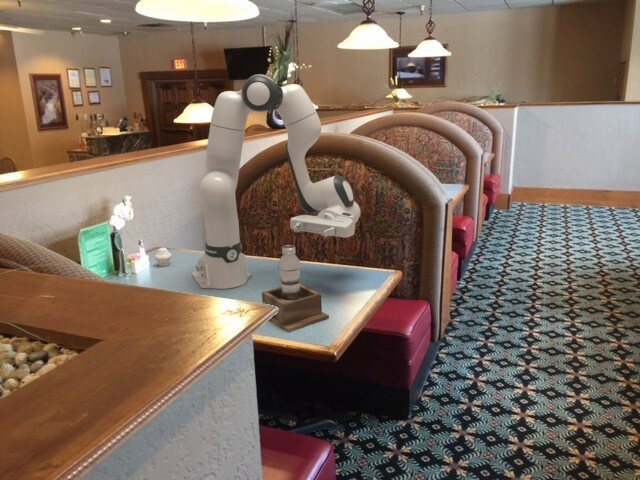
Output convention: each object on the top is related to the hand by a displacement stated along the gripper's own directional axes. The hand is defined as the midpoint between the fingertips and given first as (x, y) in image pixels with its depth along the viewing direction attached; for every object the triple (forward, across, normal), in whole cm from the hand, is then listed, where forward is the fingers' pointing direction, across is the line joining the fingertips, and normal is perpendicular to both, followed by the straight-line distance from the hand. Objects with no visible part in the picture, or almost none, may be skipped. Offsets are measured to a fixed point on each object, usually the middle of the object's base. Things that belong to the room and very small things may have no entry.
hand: (309, 231), depth 163 cm
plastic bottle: (+12, +1, +22) cm, 25 cm away
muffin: (-7, -68, +25) cm, 72 cm away
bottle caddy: (+12, +1, +23) cm, 25 cm away
